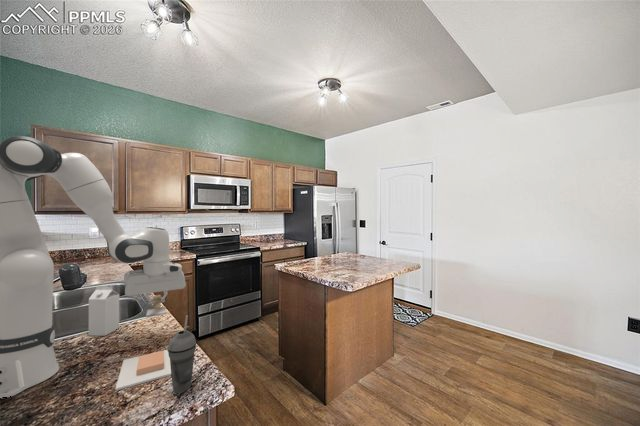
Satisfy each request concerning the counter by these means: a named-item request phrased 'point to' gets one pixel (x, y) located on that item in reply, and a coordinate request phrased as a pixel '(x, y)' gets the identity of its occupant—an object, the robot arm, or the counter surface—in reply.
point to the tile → (150, 362)
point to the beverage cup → (182, 359)
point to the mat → (131, 378)
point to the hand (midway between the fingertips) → (156, 303)
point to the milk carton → (103, 311)
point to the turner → (156, 307)
